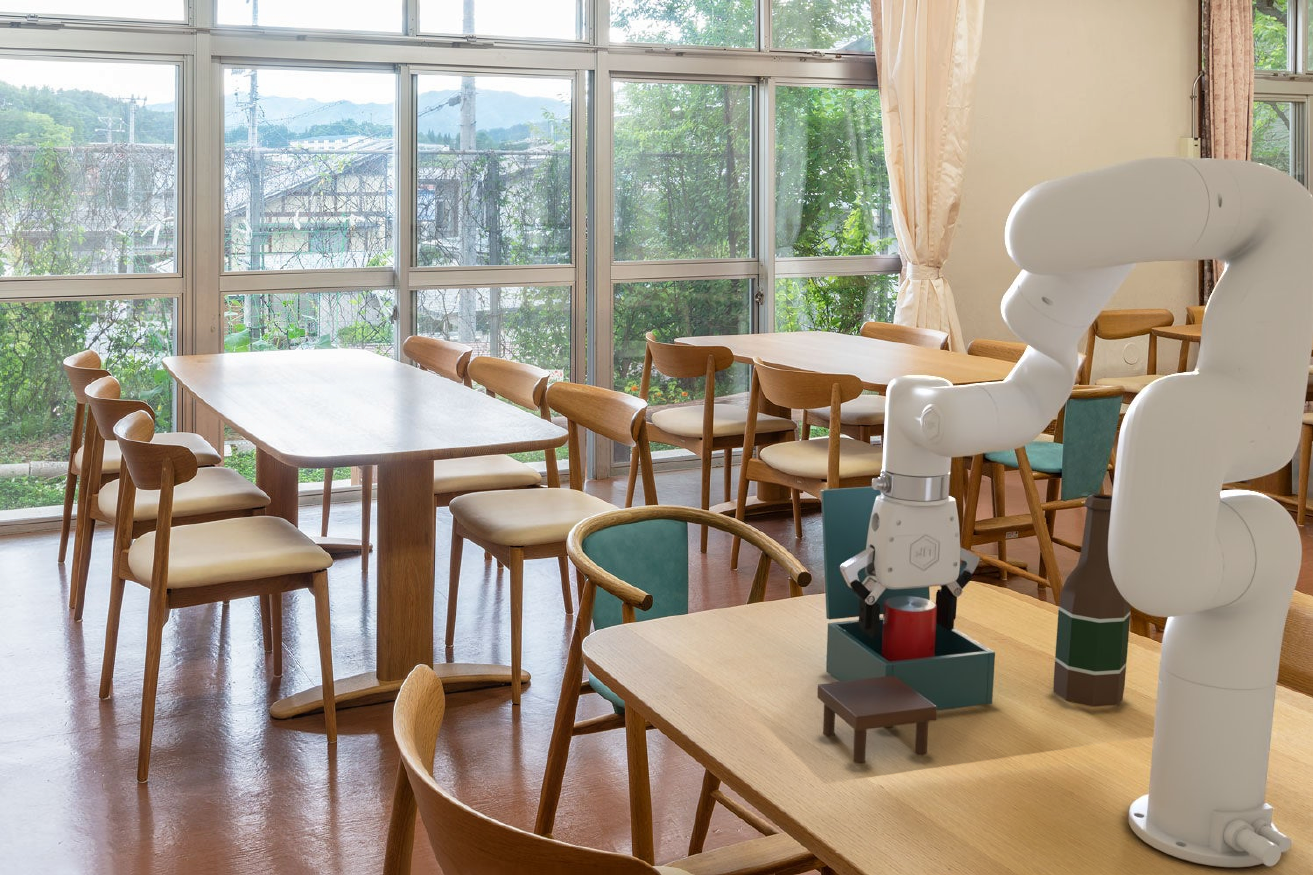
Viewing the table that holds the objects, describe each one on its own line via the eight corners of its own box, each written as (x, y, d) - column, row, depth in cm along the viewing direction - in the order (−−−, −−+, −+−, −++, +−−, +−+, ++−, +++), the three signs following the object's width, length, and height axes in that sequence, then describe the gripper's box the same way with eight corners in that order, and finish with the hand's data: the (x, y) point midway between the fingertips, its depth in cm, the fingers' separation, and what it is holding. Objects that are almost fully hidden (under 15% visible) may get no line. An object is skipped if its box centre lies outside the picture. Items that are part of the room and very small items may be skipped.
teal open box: (991, 709, 143) (995, 652, 142) (883, 723, 139) (886, 664, 137) (926, 665, 156) (928, 612, 155) (825, 677, 152) (827, 622, 151)
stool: (934, 762, 129) (937, 706, 128) (854, 773, 126) (856, 716, 125) (891, 727, 138) (893, 675, 136) (815, 737, 135) (817, 684, 134)
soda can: (942, 692, 145) (947, 608, 144) (895, 698, 144) (899, 613, 142) (916, 674, 151) (920, 593, 149) (871, 679, 149) (874, 597, 147)
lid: (925, 483, 155) (921, 483, 155) (823, 490, 150) (820, 489, 151) (930, 609, 155) (927, 608, 156) (829, 619, 151) (826, 618, 151)
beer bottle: (1128, 716, 141) (1145, 506, 137) (1056, 710, 143) (1070, 502, 139) (1118, 690, 149) (1133, 490, 145) (1049, 685, 150) (1062, 487, 146)
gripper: (861, 498, 137) (854, 648, 140) (1000, 489, 142) (990, 634, 146) (831, 482, 144) (824, 626, 147) (964, 474, 149) (955, 613, 153)
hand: (906, 630), depth 146 cm, fingers open, 9 cm apart
